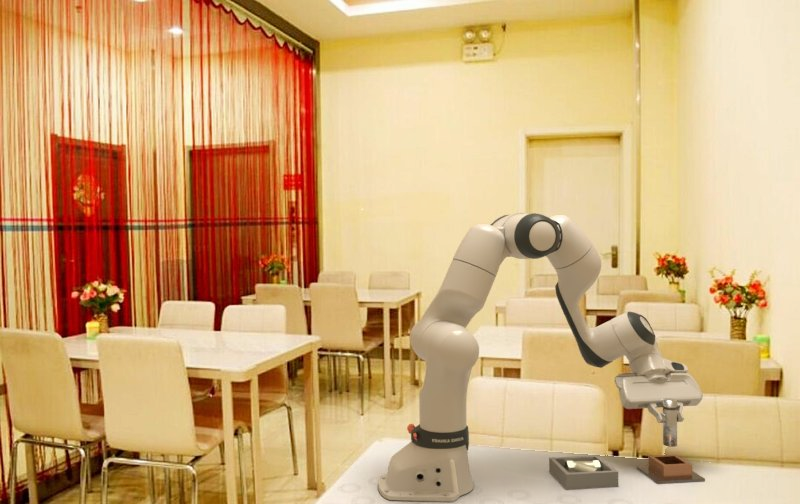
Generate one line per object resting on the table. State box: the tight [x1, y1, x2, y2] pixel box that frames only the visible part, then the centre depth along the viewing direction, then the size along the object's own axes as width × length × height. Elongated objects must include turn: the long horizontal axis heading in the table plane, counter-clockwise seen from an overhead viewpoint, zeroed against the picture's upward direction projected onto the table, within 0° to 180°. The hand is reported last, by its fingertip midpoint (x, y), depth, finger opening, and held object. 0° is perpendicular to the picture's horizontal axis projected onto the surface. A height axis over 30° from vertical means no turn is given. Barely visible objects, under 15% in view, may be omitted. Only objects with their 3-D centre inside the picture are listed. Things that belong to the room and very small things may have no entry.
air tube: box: [662, 398, 678, 448], centre depth 154 cm, size 3×3×11 cm
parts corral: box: [548, 454, 619, 490], centre depth 152 cm, size 12×12×4 cm
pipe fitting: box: [565, 460, 601, 473], centre depth 153 cm, size 8×4×7 cm
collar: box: [636, 454, 706, 485], centre depth 154 cm, size 12×10×4 cm
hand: (671, 421), depth 154 cm, fingers closed on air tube, 3 cm apart
